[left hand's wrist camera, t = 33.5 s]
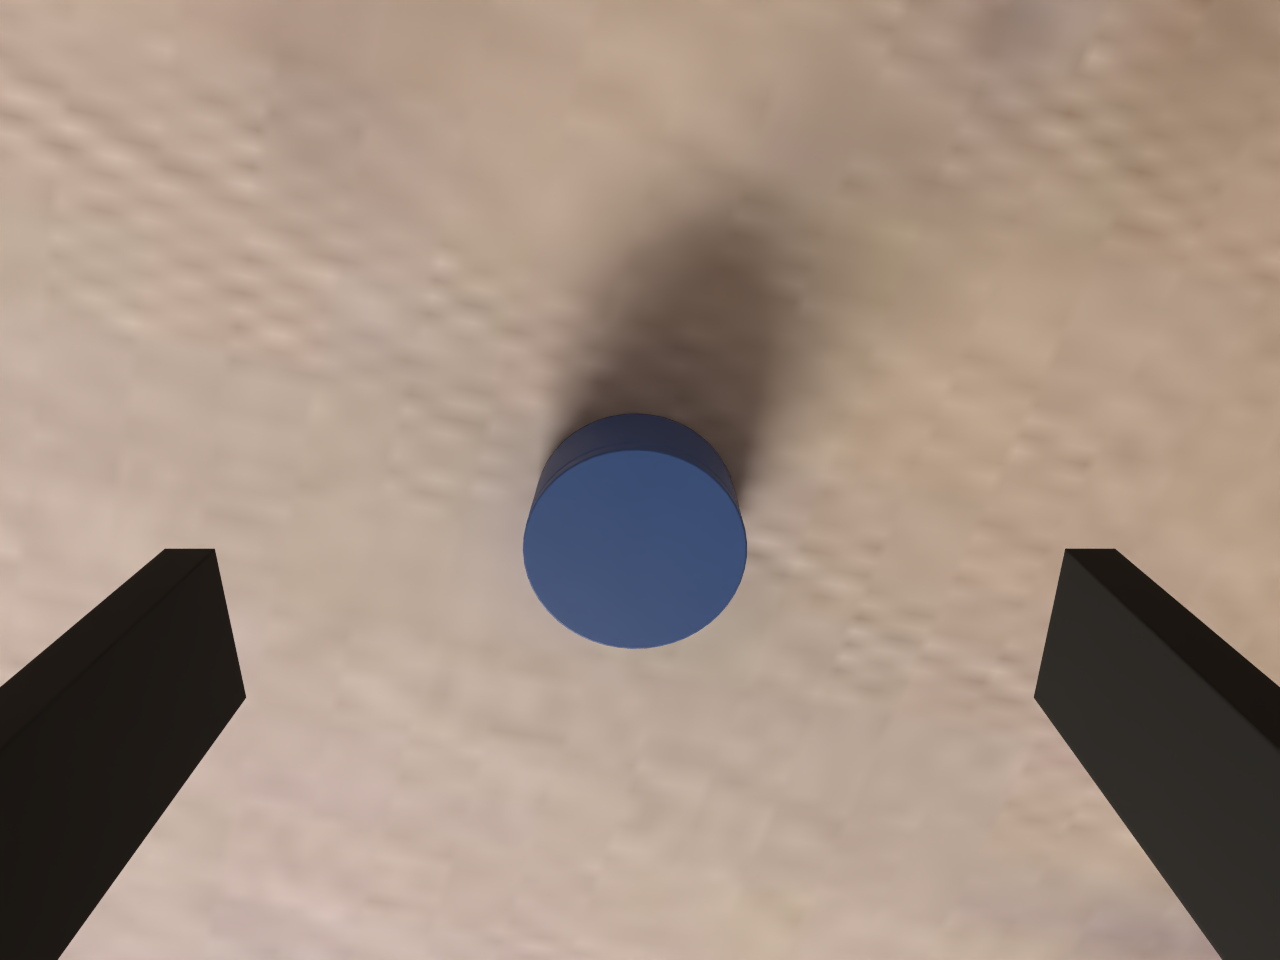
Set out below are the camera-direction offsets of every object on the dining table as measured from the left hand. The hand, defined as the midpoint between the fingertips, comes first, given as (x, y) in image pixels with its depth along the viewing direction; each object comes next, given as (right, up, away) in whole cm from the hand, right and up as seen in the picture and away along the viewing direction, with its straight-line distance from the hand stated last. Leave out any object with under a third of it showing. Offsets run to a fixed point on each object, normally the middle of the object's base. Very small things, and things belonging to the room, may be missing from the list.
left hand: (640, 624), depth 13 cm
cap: (0, +1, +2) cm, 2 cm away
